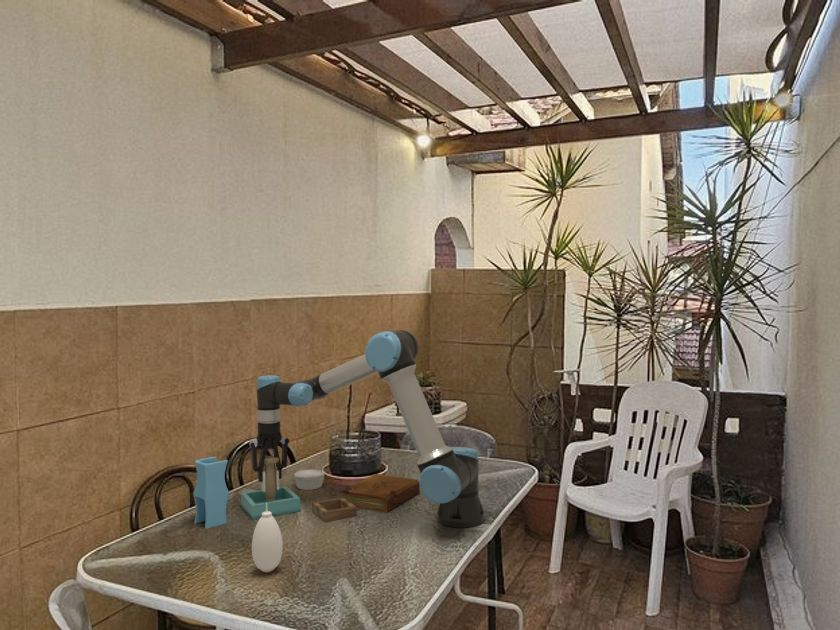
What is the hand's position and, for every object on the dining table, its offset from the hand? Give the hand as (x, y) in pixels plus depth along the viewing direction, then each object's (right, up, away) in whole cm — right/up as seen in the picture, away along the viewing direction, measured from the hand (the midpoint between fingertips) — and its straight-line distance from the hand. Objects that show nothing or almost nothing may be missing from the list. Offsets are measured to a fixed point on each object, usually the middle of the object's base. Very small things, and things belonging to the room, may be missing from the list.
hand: (270, 489), depth 212 cm
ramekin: (+9, -6, +26) cm, 28 cm away
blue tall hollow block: (-16, -7, -13) cm, 22 cm away
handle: (0, -4, 0) cm, 4 cm away
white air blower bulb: (+11, -8, -50) cm, 51 cm away
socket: (+23, -6, -6) cm, 24 cm away
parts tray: (0, -7, 0) cm, 7 cm away
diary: (+37, -7, +9) cm, 39 cm away
